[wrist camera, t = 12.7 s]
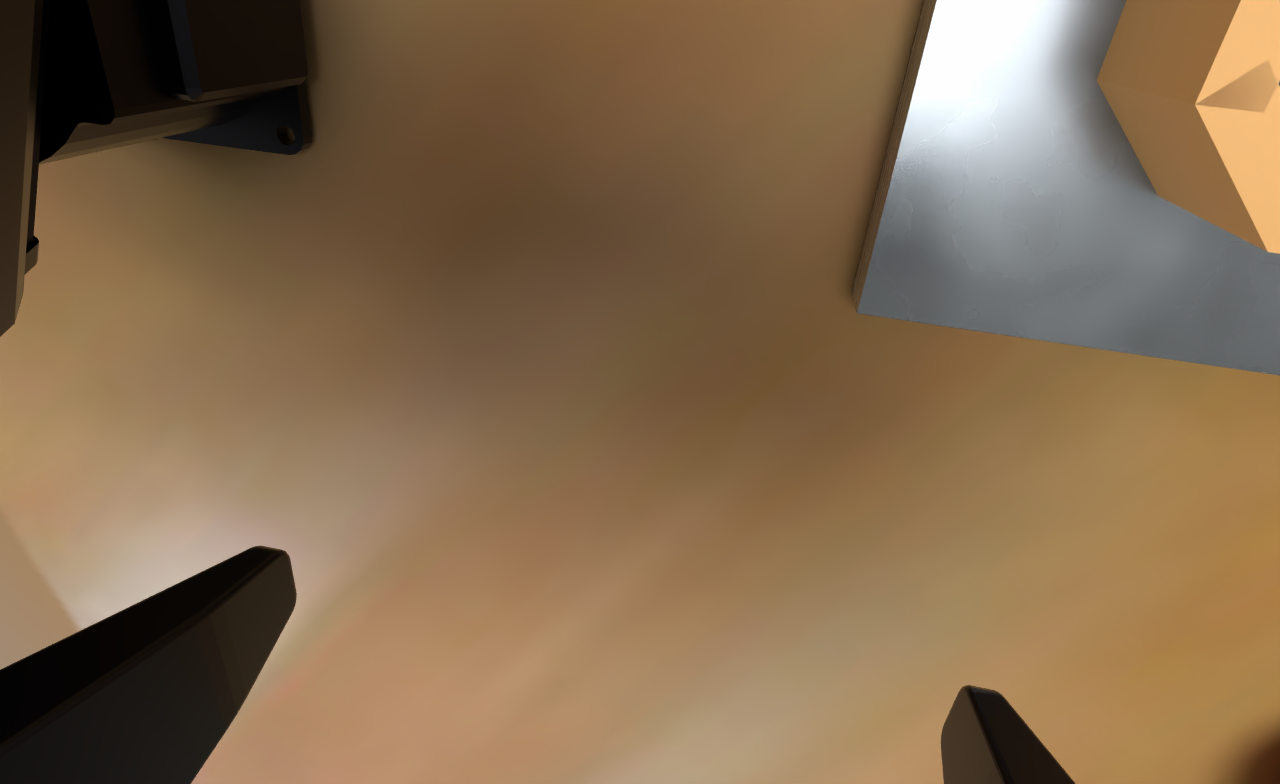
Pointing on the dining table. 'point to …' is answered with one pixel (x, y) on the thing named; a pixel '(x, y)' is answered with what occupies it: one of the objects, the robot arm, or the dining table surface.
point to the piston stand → (1047, 202)
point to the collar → (1203, 107)
